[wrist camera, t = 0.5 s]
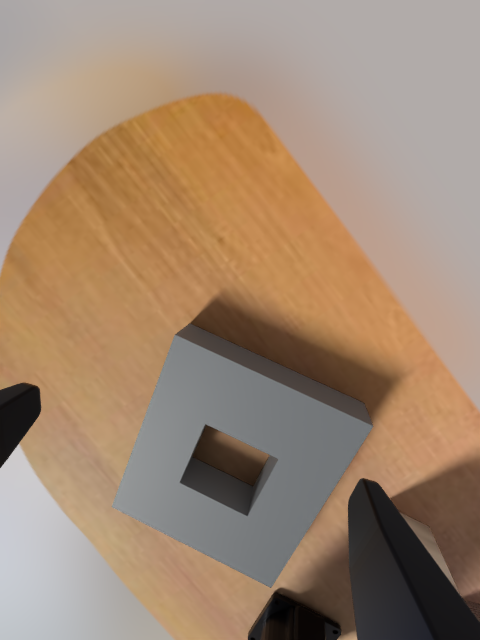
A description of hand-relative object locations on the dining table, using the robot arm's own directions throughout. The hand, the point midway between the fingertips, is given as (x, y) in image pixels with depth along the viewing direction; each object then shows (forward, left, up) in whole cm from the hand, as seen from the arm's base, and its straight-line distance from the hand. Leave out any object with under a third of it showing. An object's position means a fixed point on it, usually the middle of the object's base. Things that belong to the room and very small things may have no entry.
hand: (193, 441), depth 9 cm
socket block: (-11, -2, -15) cm, 19 cm away
